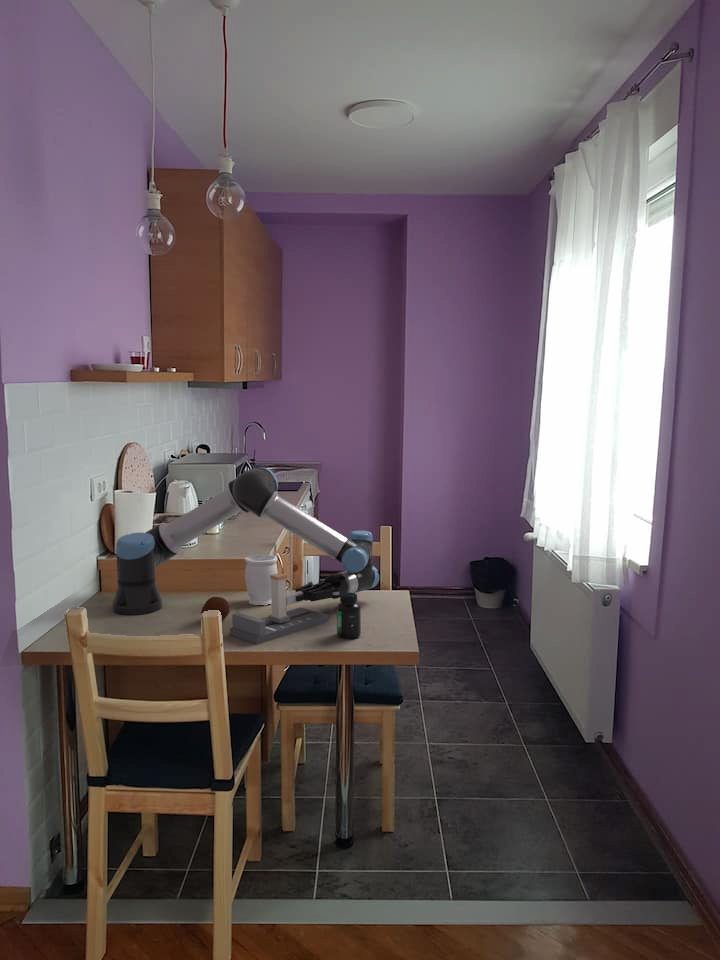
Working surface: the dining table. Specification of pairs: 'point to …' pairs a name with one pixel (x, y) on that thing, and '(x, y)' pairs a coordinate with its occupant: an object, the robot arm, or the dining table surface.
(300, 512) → the robot arm
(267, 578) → the jar
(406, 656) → the dining table surface
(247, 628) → the console
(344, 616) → the supplement bottle
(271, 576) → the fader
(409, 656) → the dining table surface
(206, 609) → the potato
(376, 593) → the dining table surface
